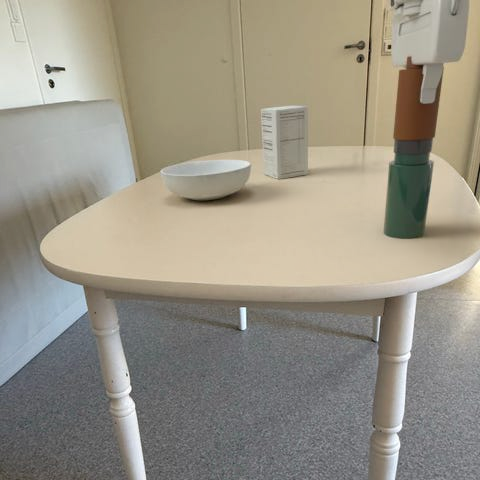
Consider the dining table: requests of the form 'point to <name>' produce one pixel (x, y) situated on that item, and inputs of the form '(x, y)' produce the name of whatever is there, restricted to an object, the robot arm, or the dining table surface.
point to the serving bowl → (206, 178)
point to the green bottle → (408, 189)
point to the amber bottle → (414, 106)
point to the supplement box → (285, 141)
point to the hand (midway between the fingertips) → (417, 102)
